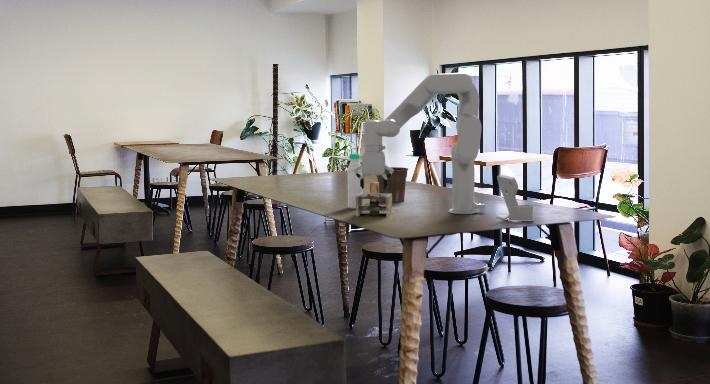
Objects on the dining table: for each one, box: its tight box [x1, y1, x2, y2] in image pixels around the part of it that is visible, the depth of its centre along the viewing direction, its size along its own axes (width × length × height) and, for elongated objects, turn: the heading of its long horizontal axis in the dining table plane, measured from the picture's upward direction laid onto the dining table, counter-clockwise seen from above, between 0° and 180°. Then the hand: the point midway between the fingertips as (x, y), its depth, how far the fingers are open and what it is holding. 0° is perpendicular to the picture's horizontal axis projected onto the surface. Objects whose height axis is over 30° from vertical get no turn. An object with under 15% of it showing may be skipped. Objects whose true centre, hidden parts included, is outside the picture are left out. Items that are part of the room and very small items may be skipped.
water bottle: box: [346, 153, 364, 210], centre depth 385 cm, size 7×7×25 cm
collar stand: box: [355, 193, 393, 218], centre depth 362 cm, size 14×12×8 cm
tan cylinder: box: [369, 181, 380, 216], centre depth 362 cm, size 4×4×14 cm
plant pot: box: [375, 166, 409, 204], centre depth 406 cm, size 16×16×16 cm
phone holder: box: [496, 174, 534, 220], centre depth 340 cm, size 17×10×18 cm, turn 13°
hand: (373, 188), depth 361 cm, fingers open, 9 cm apart
